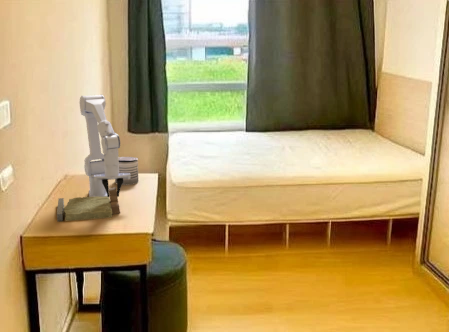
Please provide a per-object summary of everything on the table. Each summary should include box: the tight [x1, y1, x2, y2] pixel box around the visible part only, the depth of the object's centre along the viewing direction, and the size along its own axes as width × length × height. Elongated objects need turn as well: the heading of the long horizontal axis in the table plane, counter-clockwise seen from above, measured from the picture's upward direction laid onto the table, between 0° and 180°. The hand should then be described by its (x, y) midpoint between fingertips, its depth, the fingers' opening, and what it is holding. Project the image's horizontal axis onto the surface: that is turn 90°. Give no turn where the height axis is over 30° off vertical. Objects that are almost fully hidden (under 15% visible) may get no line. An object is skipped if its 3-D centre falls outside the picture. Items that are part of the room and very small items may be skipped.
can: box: [114, 156, 139, 186], centre depth 266 cm, size 11×11×12 cm
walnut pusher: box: [108, 186, 121, 215], centre depth 230 cm, size 16×3×8 cm, turn 14°
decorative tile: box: [63, 196, 113, 222], centre depth 226 cm, size 19×20×4 cm
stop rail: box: [56, 197, 65, 222], centre depth 223 cm, size 20×2×3 cm, turn 14°
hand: (113, 196), depth 230 cm, fingers closed on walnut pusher, 3 cm apart
